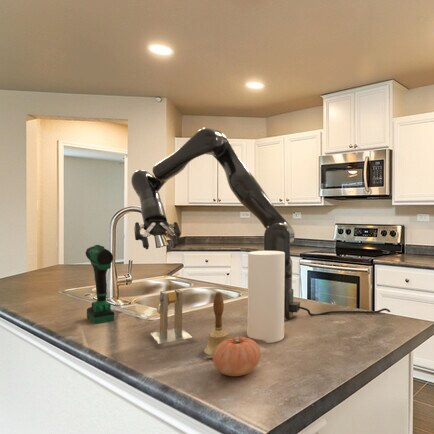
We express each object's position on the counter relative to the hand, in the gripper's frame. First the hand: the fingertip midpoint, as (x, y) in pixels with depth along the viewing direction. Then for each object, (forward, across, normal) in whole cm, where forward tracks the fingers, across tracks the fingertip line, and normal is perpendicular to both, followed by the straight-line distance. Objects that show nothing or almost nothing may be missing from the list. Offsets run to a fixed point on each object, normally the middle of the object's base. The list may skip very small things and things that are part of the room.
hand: (161, 247), depth 127 cm
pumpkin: (+55, +4, -20) cm, 58 cm away
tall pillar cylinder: (+42, +21, -6) cm, 47 cm away
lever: (+24, -2, 0) cm, 24 cm away
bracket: (+32, -2, +3) cm, 32 cm away
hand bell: (+45, +5, -10) cm, 47 cm away
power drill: (+5, -17, +30) cm, 35 cm away
